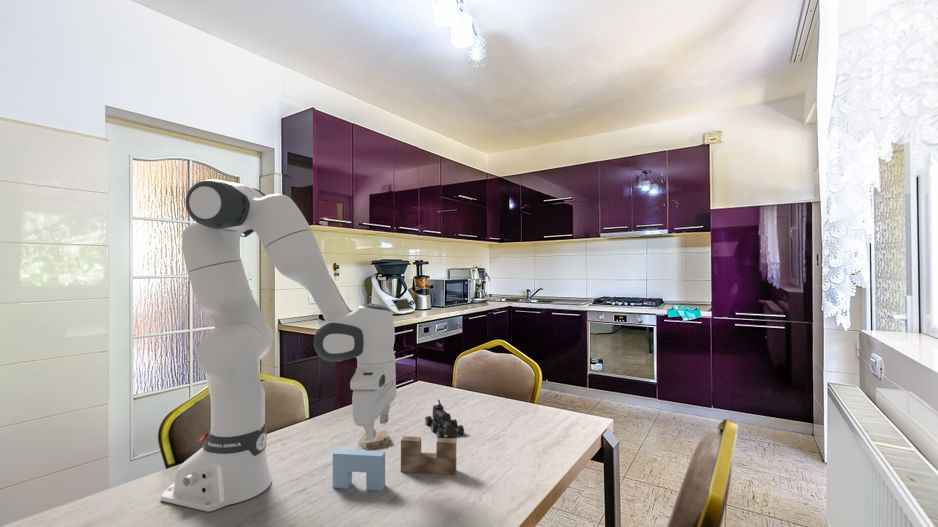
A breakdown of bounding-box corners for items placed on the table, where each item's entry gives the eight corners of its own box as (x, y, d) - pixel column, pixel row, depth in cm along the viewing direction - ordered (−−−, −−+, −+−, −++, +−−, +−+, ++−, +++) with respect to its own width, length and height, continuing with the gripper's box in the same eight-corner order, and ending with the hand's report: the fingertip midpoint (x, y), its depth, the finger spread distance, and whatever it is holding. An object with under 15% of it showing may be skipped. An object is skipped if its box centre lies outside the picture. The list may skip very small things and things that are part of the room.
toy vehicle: (447, 422, 138) (447, 396, 139) (464, 436, 125) (464, 408, 125) (424, 425, 135) (424, 399, 136) (439, 441, 121) (439, 411, 122)
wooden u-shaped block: (400, 471, 102) (400, 440, 103) (403, 467, 105) (403, 436, 105) (455, 474, 101) (455, 442, 101) (456, 469, 103) (456, 438, 104)
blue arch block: (332, 487, 95) (332, 453, 95) (337, 482, 98) (337, 448, 98) (381, 490, 94) (381, 456, 94) (385, 484, 96) (385, 451, 96)
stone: (359, 451, 115) (359, 442, 115) (357, 442, 121) (357, 433, 121) (390, 446, 118) (390, 438, 118) (387, 438, 124) (387, 429, 124)
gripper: (378, 361, 106) (379, 414, 106) (346, 384, 86) (347, 449, 86) (401, 361, 106) (402, 414, 105) (375, 384, 85) (376, 449, 85)
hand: (377, 430), depth 95 cm, fingers open, 8 cm apart
